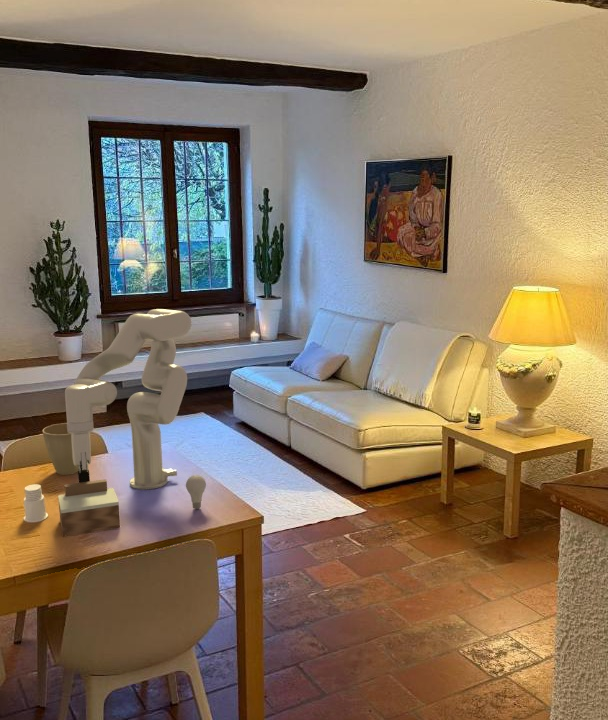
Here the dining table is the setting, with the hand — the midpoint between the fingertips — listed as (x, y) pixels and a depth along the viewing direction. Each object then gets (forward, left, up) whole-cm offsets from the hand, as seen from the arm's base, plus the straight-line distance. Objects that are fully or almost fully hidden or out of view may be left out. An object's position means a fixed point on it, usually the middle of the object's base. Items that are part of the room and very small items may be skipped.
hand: (84, 483), depth 227 cm
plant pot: (+3, -40, -9) cm, 41 cm away
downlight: (+15, -1, -9) cm, 17 cm away
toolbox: (0, +10, -9) cm, 14 cm away
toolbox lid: (0, +10, -2) cm, 10 cm away
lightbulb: (-32, +11, -9) cm, 35 cm away
